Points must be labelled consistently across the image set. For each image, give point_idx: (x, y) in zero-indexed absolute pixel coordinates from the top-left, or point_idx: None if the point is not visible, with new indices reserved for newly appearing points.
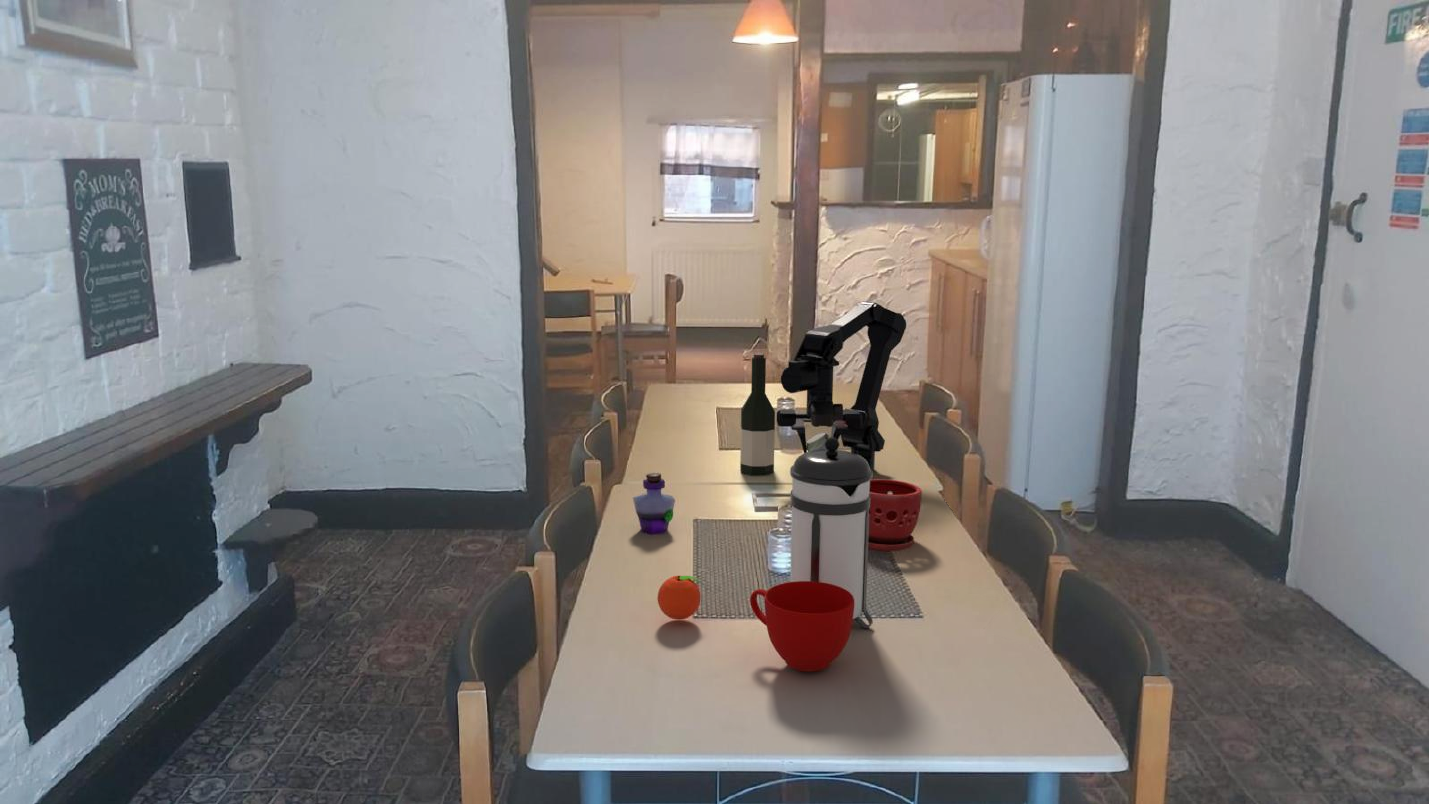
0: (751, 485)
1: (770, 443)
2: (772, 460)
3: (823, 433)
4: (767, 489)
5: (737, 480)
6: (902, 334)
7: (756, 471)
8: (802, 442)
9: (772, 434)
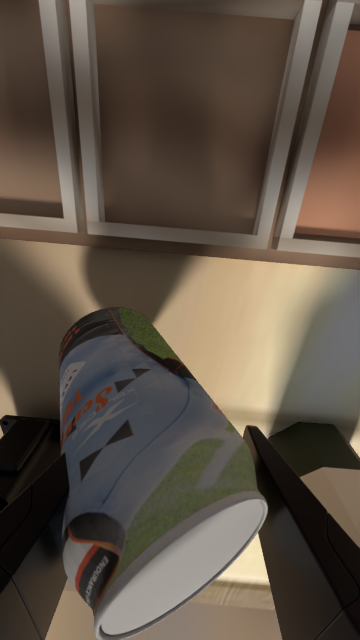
0: (339, 412)
1: None
2: None
3: (120, 620)
4: (312, 378)
5: (355, 448)
6: None
7: (340, 453)
8: (318, 511)
9: None
